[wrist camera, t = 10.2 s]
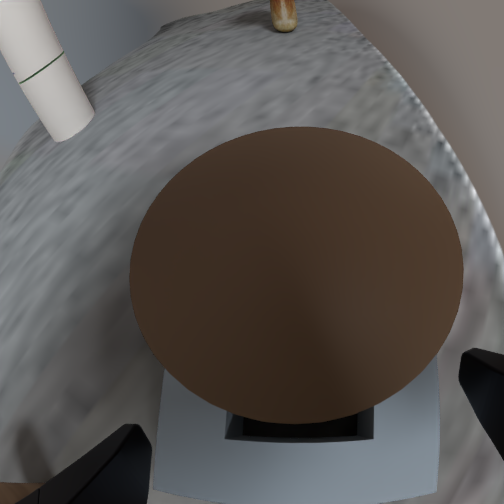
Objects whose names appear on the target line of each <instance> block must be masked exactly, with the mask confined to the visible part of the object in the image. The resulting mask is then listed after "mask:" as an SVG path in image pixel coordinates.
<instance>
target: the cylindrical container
mask: <svg viewBox="0 0 504 504" xmlns="http://www.w3.org/2000/svg"><path fill="white" fill-rule="evenodd" d="M0 51H1V53H2V55H3V56H4V58H5V60H6V62H7V64H8V66H9V68H10V69H11V71H12V73H13V72H14V73H13V75H14V77H15V78H16V80H17V82H18V84H19V85H20V87H21V89H22V90H23V92H24V94H25V95H26V97H27V98H28V100H29V102H30V104H31V105H32V107H33V108H34V110H35V112H36V113H37V115H38V116H39V118H40V120H41V121H42V123H43V124H44V126H45V127H46V129H47V130H48V132H49V133H50V135H51V136H52V138H53V139H54V141H55V142H62V141H65V140H67V139H69V138H71V137H72V136H74V135H75V134H77V133H78V132H80V131H81V130H82V129H83V128H85V127H86V126H87V125H88V124H89V123H90V121H91V120H92V119H93V117H94V115H95V111H94V109H93V107H92V106H91V104H90V102H89V100H88V98H87V96H86V94H85V92H84V91H83V89H82V87H81V85H80V83H79V81H78V80H77V77H76V75H75V73H74V71H73V69H72V67H71V65H70V63H69V61H68V59H67V57H66V55H65V53H64V51H63V49H62V47H61V45H60V43H59V40H58V38H57V36H56V34H55V32H54V30H53V28H52V26H51V23H50V21H49V19H48V17H47V14H46V12H45V10H44V8H43V5H42V3H41V1H40V0H0Z"/></svg>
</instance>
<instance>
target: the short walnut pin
mask: <svg viewBox="0 0 504 504" xmlns="http://www.w3.org/2000/svg"><path fill="white" fill-rule="evenodd" d="M43 484H45V483H5V482H0V504H14V503H16V502H18V501H20V500H21V499H23V498H24V497H26V496H27V495H29V494H30V493H32V492H33V491H35V490H36V489H38V488H40V487H41V486H42V485H43Z"/></svg>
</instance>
